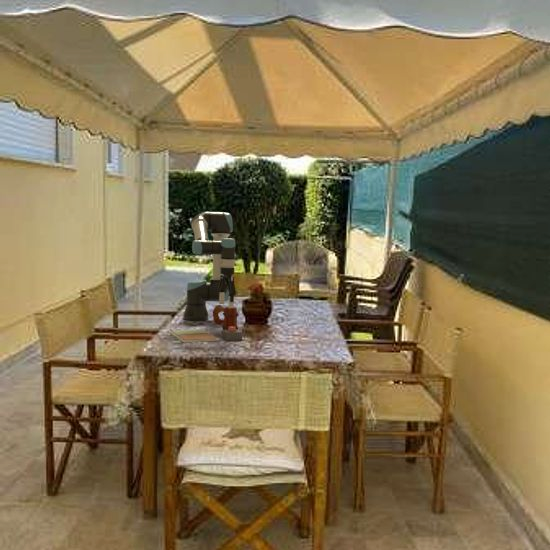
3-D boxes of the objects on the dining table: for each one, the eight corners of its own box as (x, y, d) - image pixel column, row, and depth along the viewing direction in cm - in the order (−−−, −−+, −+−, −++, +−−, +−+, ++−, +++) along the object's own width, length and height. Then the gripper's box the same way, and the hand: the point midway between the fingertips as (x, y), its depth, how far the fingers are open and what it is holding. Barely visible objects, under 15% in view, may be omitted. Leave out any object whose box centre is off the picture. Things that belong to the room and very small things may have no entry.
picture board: (169, 332, 340) (169, 330, 340) (201, 330, 348) (201, 328, 348) (183, 342, 317) (183, 340, 317) (218, 340, 325) (218, 338, 325)
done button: (227, 333, 332) (227, 326, 332) (233, 332, 334) (233, 326, 334) (229, 334, 329) (230, 327, 329) (236, 334, 331) (236, 327, 330)
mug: (240, 332, 347) (241, 305, 346) (235, 335, 339) (236, 307, 338) (215, 330, 351) (216, 303, 349) (210, 333, 343) (210, 305, 342)
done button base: (221, 337, 334) (221, 329, 333) (235, 336, 337) (236, 329, 337) (227, 340, 327) (227, 332, 326) (241, 339, 330) (241, 331, 330)
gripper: (212, 264, 351) (211, 302, 353) (229, 269, 328) (228, 309, 331) (225, 264, 354) (224, 302, 356) (242, 269, 332) (241, 309, 334)
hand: (226, 306), depth 343 cm, fingers open, 13 cm apart
